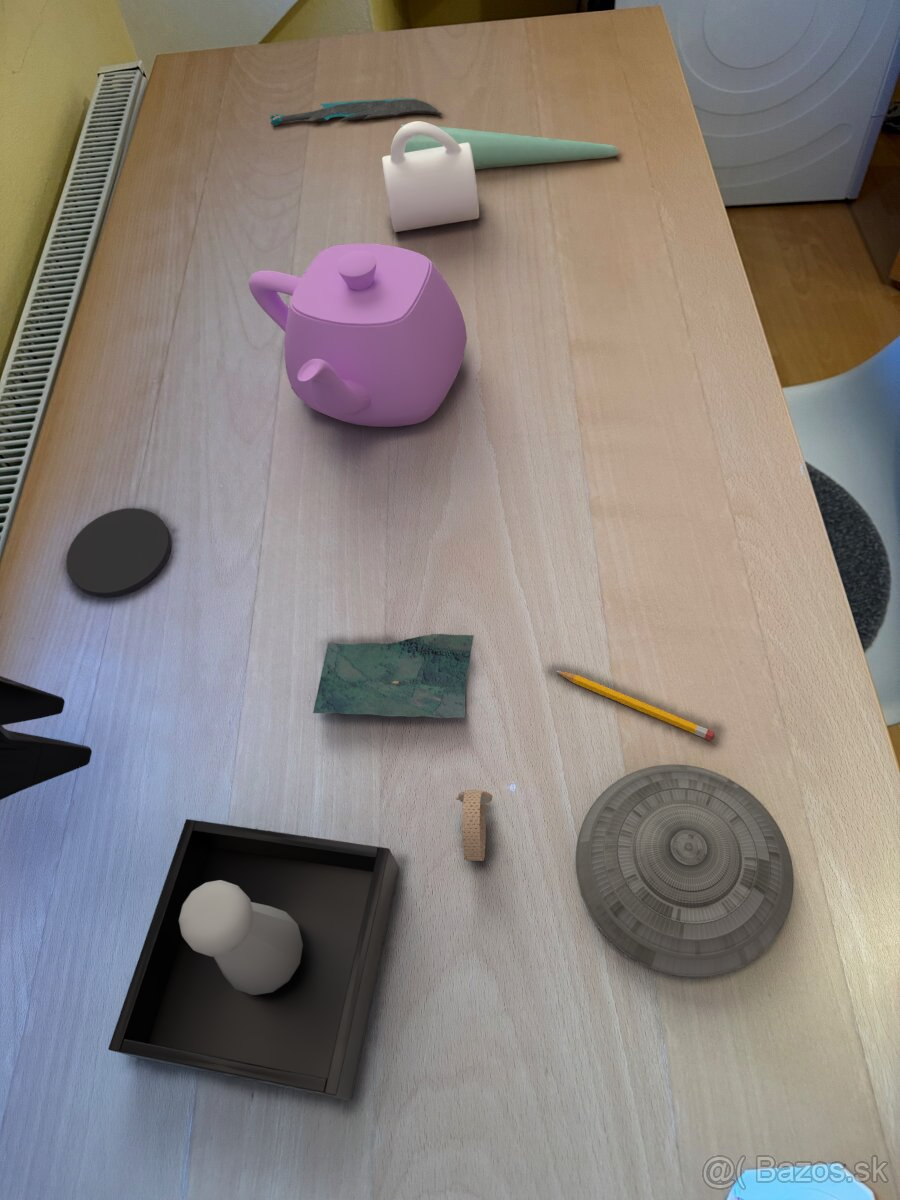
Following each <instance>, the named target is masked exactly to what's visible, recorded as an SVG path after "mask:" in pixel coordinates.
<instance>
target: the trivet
mask: <svg viewBox="0 0 900 1200" xmlns="http://www.w3.org/2000/svg"><path fill="white" fill-rule="evenodd" d="M170 533H171V532H170V531H169V530H168V527H167V525H166V523H165V522H164V521H163V520H162V519H161V518H160V517H159V516H158V515H157V514H155V513H153V512H151V511H149V510H146V509H143V508H135V507H134V508H133V507H131V508H121V509H116V510H112V511H109V512H107V513H104V514H103V515H100V516H98V517H97V518H95V519H94V520H92V521H90V522H89V523H88V524H87V525H85V526H84V527H83V528H82V529H81V530H80V531H79V533H77V535H76V536H75V538H73V540H72V543H70V546H69V548H68V551H67V554H66V570H67V573H68V575H69V577H70V579H71V581H72V582H73V583H74V585H76V587H77V588H78V589H80V590H81V591H82V592H84V593H85V594H88V595H91V596H93V597H98V598H116V597H121V596H125V595H127V594H131V593H133V592H135V591H138V590H139V589H141V588H142V587H144V586H146V585H147V584H148V583H150V582H151V581H152V580H153V579H154V578H156V576H158V575H159V574H160V572H161V571H162V570H163V569H164V567H165V566H166V563H167V562H168V559H169V558H170V554H171V550H172V537H171V534H170Z"/></svg>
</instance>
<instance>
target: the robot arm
mask: <svg viewBox="0 0 900 1200" xmlns="http://www.w3.org/2000/svg"><path fill="white" fill-rule="evenodd" d="M65 703H66V702H65V699H64V698H63V697H62V696H59V695H57V694H53V693H50V692H48V691H45V690H42V689H39V688H37V687H33V686H30V685H27V684H24V683H21V682H20V681H19V682H18V681H16V680H13V679H10V678H7V677H4V676H2V675H0V801H1V800H4V799H6V798H8V797H10V796H12V795H15V794H18V793H20V792H22V791H25V790H27V789H29V788H32V787H34V786H37V785H39V784H42V783H44V782H47V781H50V780H52V779H55V778H58V777H61V776H64V775H65V774H68V773H71V772H73V771H76V770H78V769H80V768H83V767H86V766H87V765H89V764H90V762H91V757H92V753H93V750H92V748H91V747H90V746H88V745H84V744H80V743H79V744H78V743H75V742H70V741H67V740H61V739H56V738H50V737H45V736H39V735H34V734H30V733H24V732H20V731H19V732H18V731H13V730H9V729H6V728H5V727H4V726H5V725H12V724H17V723H18V724H19V723H22V722H28V721H33V720H39V719H43V718H48V717H52V716H56V715H61V714H62V713H63V712H64V707H65Z"/></svg>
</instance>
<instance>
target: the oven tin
mask: <svg viewBox="0 0 900 1200" xmlns="http://www.w3.org/2000/svg"><path fill="white" fill-rule="evenodd" d="M181 830H182V831H181V833H180V836H179V839H178V842H177V845H176V847H175V851H174V853H173V857H172V859H171V863H170V866H169V868H168V872H167V874H166V877H165V880H164V883H163V886H162V889H161V892H160V895H159V897H158V901H157V903H156V904H157V905H156V906H155V910H154V913H153V915H152V919H151V921H150V924H149V927H148V930H147V933H146V936H145V939H144V942H143V945H142V947H141V951H140V955H139V957H138V960H137V963H136V965H135V968H134V972H133V974H132V977H131V981H130V983H129V986H128V989H127V992H126V995H125V999H124V1000H123V1004H122V1007H121V1010H120V1012H119V1016H118V1019H117V1022H116V1025H115V1026H114V1031H113V1033H112V1037H111V1039H110V1042H109V1045H108V1051H111V1052H115V1053H119V1054H122V1055H124V1056H125V1055H126V1056H129V1057H132V1058H136V1059H142V1060H146V1061H151V1062H155V1063H160V1064H166V1065H171V1066H176V1067H181V1068H186V1069H190V1070H195V1071H201V1072H206V1073H211V1074H216V1075H220V1076H224V1077H229V1078H235V1079H240V1080H245V1081H250V1082H255V1083H260V1084H264V1085H268V1086H269V1085H270V1086H275V1087H280V1088H284V1089H290V1090H295V1091H299V1092H303V1093H309V1094H314V1095H319V1096H324V1097H329V1098H334V1099H339V1100H344V1101H349V1102H351V1101H352V1098H353V1094H354V1088H355V1084H356V1079H357V1074H358V1070H359V1069H358V1068H359V1064H360V1061H361V1060H360V1059H361V1054H362V1049H363V1044H364V1041H365V1034H366V1030H367V1025H368V1020H369V1015H370V1010H371V1006H372V1001H373V997H374V991H375V987H376V983H377V977H378V972H379V967H380V962H381V958H382V953H383V948H384V943H385V938H386V934H387V928H388V923H389V919H390V914H391V911H392V910H391V909H392V905H393V900H394V896H395V895H394V894H395V890H396V885H397V880H398V875H399V870H400V866H399V864H398V862H397V860H396V858H395V856H394V855H393V853H392V851H391V849H390V848H389V847H382V846H375V845H368V844H361V843H355V842H347V841H341V840H336V839H335V840H333V839H327V838H321V837H314V836H306V835H300V834H293V833H286V832H278V831H273V830H265V829H259V828H251V827H244V826H238V825H231V824H225V823H217V822H210V821H204V820H196V819H190V818H186V819H185V821H184V824H183V827H182V829H181ZM218 880H222V881H225V882H228V883H231V884H234V885H237V886H239V888H240V889H241V890H242V891H243V892H244V893H245V894H246V895H247V896H248V897H249V899H250V901H251V902H253V903H258V904H262V905H267V906H271V907H274V908H276V909H279V910H282V911H285V912H286V913H287V914H288V915H289V916H290V917H291V918H292V919H293V920H294V921H295V922H296V923H297V924H298V927H299V931H300V935H301V939H302V943H303V947H302V954H301V960H300V965H299V966H298V968H297V969H296V971H295V972H294V974H293V975H292V977H291V978H290V980H289V981H288V982H287V983H285V984H284V985H282V986H281V987H280V988H278V989H277V990H275V991H274V992H271V993H265V994H259V995H251V994H248V993H245V992H242V991H240V990H237V989H235V988H234V987H233V986H232V985H231V983H230V982H229V981H228V980H227V979H226V977H225V976H224V975H223V973H222V971H221V969H220V968H219V966H218V964H217V962H216V960H215V958H214V956H213V957H211V956H208V955H205V954H202V953H199V952H196V951H194V950H193V949H192V948H191V947H190V945H189V944H188V943H187V942H186V940H185V939H184V938H183V936H182V934H181V929H180V924H179V918H180V914H181V910H182V906H183V904H184V902H185V901H186V899H187V898H188V897H189V895H190V894H191V892H192V891H193V890H195V889H196V888H198V887H200V886H201V885H203V884H204V883H207V882H212V881H218Z"/></svg>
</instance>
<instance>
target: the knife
mask: <svg viewBox="0 0 900 1200" xmlns="http://www.w3.org/2000/svg"><path fill="white" fill-rule="evenodd" d="M319 105H320V106H322V108H320V109H317V110H313V111H307V112H299V113H294V114H288V115H287V114H286V115H283V114H278V113H275V114H276V115H275V116H279V115H280V116H281V117H280V118H277V119H275V120H273V118H274V117H275V116H273V114H271V115H270V117H269V119H270V120H271V122H270V123H271V124H272V125H273V126H274V127H277V126H278V125H280V124H283V123H288V122H295V121H305V122H319V123H320V122H325V121H328V120H330V119H333V118H338V117H343V118H341V120H340V122H343V121H351V120H369V119H374V118H386V117H387V118H388V117H393V116H395V117H396V116H402V115H408V114H409V115H410V114H421V115H422V114H423V115H424V114H425V115H426V114H427V115H428V114H429V115H439V116H440V115H443V113H442V112H441V111H439V110H438V109H437V108H436V107H434V106H432V105H431V104H430V103H427V102H425V101H422V100H420V99H416V98H390V99H388V98H387V99H372V100H371V99H370V100H367V99H366V100H353V101H351V100H349V101H338V102H326V103H320V104H319Z"/></svg>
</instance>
